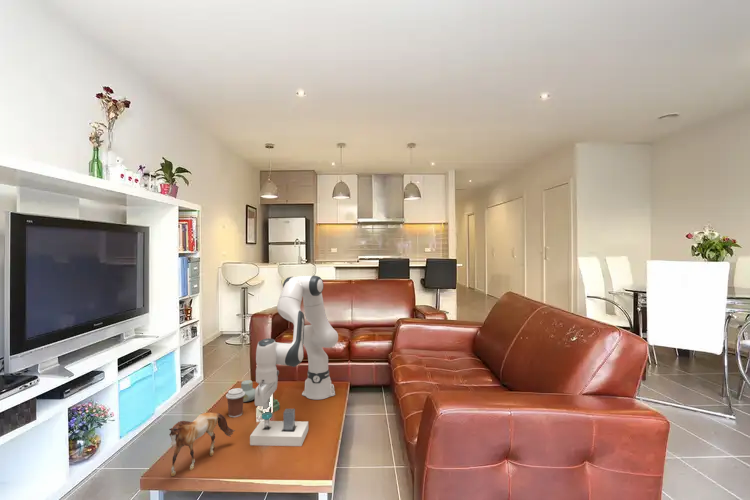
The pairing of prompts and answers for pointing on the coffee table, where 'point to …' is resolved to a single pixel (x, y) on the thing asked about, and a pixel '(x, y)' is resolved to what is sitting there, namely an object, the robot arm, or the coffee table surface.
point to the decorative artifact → (275, 405)
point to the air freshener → (248, 390)
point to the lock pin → (266, 419)
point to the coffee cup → (235, 402)
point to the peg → (289, 420)
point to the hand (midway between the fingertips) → (266, 407)
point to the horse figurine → (196, 433)
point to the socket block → (279, 434)
